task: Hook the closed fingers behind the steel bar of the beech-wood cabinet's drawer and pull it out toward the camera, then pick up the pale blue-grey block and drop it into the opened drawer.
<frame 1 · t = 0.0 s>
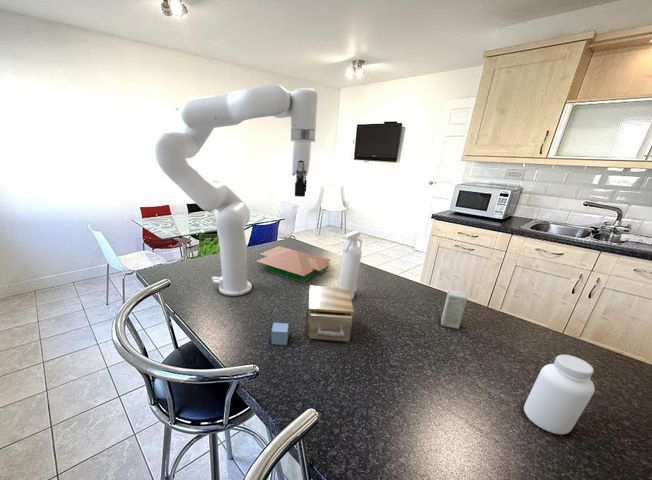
hand: (300, 193, 97), 37 cm above the kitchen island, tool pointing down, fingers open, 9 cm apart
white spray bottle: (347, 296, 110), on the kitchen island
drawer: (329, 320, 86), point 5 cm above the kitchen island, slide at 1.0 cm
cabinet: (327, 324, 93), on the kitchen island
block: (280, 339, 85), on the kitchen island
box: (449, 324, 94), on the kitchen island
house: (291, 267, 135), on the kitchen island
pill bottle: (545, 419, 62), on the kitchen island
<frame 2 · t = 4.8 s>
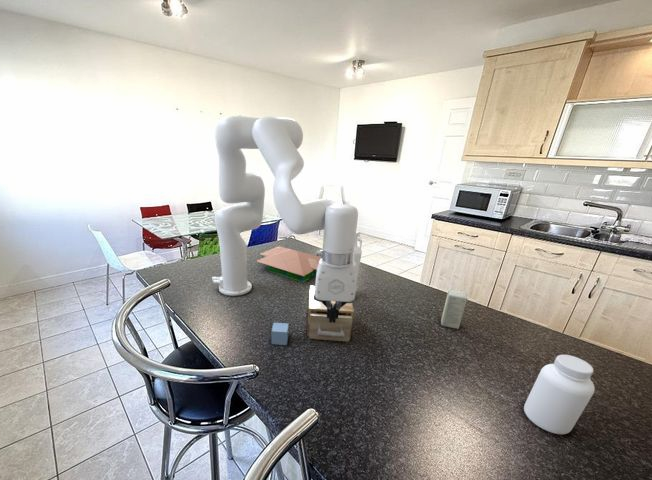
hand: (332, 319, 79), 9 cm above the kitchen island, tool pointing down, fingers closed
drawer: (329, 320, 86), point 5 cm above the kitchen island, slide at 1.1 cm, touching gripper
everything else where it was.
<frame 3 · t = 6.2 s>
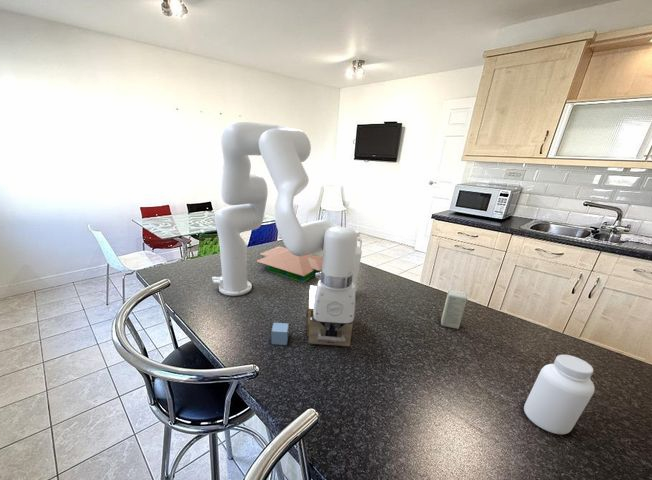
hand: (330, 339, 79), 4 cm above the kitchen island, tool pointing down, fingers closed
drawer: (329, 324, 84), point 5 cm above the kitchen island, slide at 3.2 cm, touching gripper
everything else where it was.
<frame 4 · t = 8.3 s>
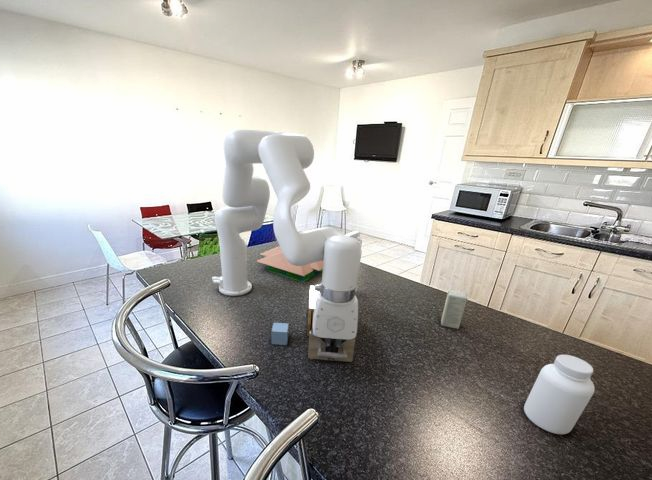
hand: (331, 355, 74), 4 cm above the kitchen island, tool pointing down, fingers closed
drawer: (330, 337, 79), point 5 cm above the kitchen island, slide at 9.5 cm
everything else where it was.
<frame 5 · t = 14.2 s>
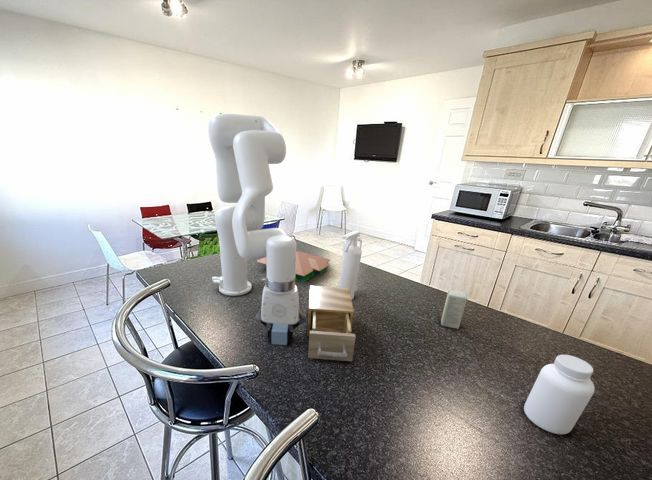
hand: (280, 338, 85), 0 cm above the kitchen island, tool pointing down, fingers closed on block, 4 cm apart
block: (280, 339, 85), on the kitchen island, touching gripper
everything else where it was.
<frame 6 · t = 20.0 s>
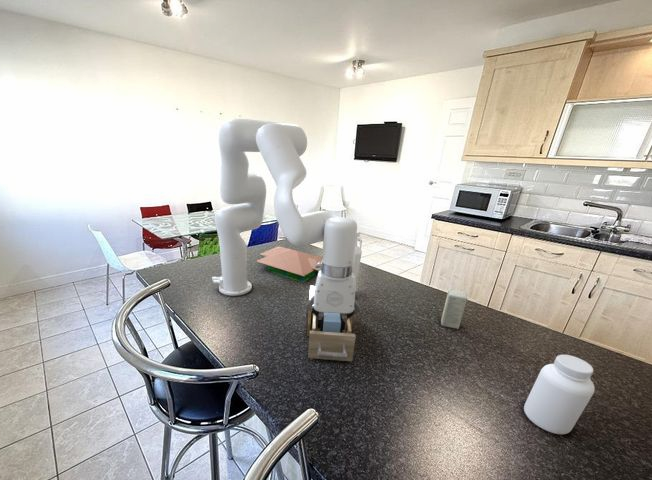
hand: (330, 329, 80), 6 cm above the kitchen island, tool pointing down, fingers closed on block, 4 cm apart
drawer: (330, 337, 79), point 5 cm above the kitchen island, slide at 9.4 cm, touching gripper
block: (330, 331, 80), point 6 cm above the kitchen island, touching gripper
everything else where it was.
when the fingers open (9 cm above the kitchen island, at t = 33.4 s): block drops 7 cm, resting on drawer.
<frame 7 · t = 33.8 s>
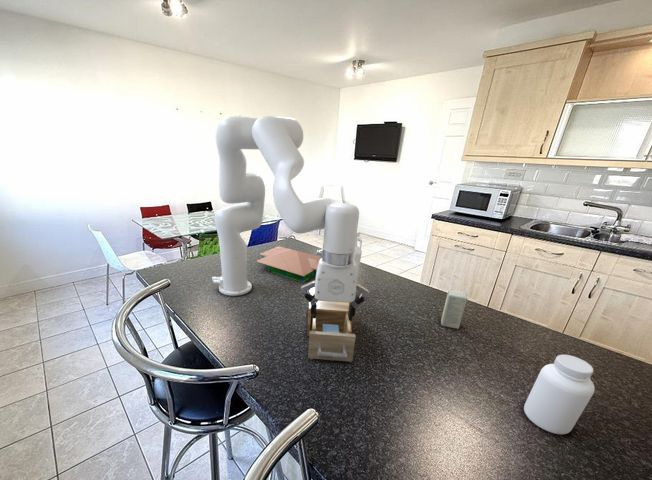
hand: (332, 316, 78), 10 cm above the kitchen island, tool pointing down, fingers open, 9 cm apart
drawer: (330, 337, 79), point 5 cm above the kitchen island, slide at 9.5 cm, touching block
block: (329, 342, 81), point 2 cm above the kitchen island, touching drawer
everything else where it was.
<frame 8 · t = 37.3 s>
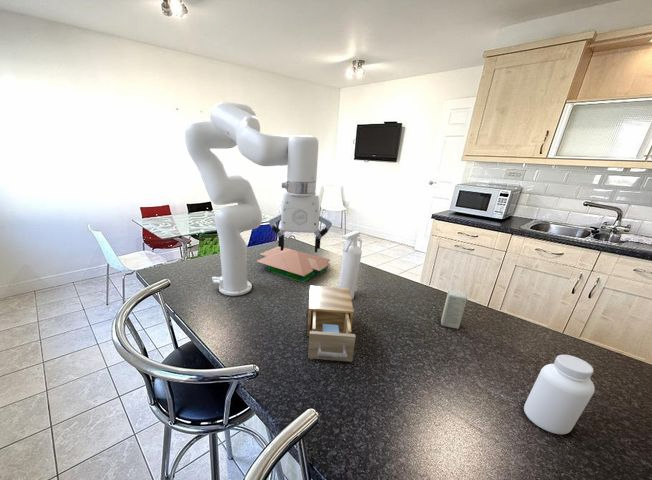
hand: (299, 249, 84), 24 cm above the kitchen island, tool pointing down, fingers open, 9 cm apart
nothing on the kitchen island moved.
at the end: drawer slide at 9.5 cm; block inside the target area in the drawer (0.2 cm from its centre), point 2.0 cm above the cabinet's base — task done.
